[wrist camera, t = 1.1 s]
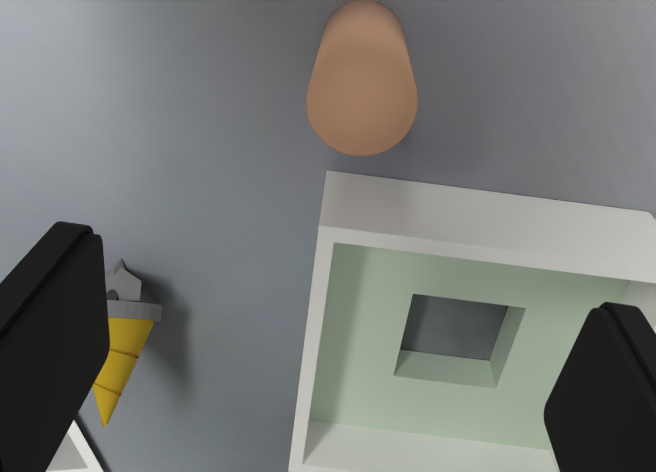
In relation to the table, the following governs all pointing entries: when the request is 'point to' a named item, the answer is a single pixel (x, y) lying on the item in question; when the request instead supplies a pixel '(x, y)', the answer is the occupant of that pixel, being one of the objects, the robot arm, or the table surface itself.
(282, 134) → the table surface
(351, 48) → the peg
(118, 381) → the yellow tapered spiral part
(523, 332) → the holed box
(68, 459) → the white grey flat rectangle
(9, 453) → the robot arm
